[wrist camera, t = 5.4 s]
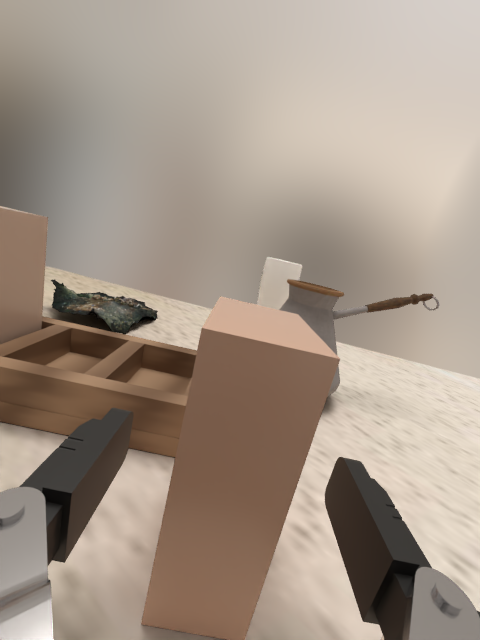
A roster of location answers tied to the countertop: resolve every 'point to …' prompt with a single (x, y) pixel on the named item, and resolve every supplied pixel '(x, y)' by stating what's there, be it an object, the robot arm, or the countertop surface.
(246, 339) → the clay bar
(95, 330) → the wooden divided tray
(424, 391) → the countertop surface
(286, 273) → the drinking glass
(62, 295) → the decorative rock
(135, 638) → the countertop surface
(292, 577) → the countertop surface
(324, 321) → the coffee pot
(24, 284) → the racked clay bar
